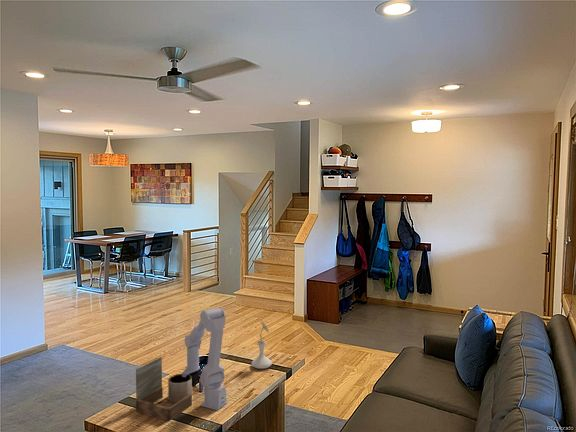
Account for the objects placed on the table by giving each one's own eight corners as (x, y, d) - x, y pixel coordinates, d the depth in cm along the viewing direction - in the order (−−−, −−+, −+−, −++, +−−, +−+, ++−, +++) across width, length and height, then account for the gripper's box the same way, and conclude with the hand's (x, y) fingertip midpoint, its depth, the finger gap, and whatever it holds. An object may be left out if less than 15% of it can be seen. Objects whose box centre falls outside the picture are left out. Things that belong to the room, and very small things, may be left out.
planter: (185, 405, 191) (185, 384, 191) (163, 402, 194) (163, 382, 193) (195, 394, 202) (195, 374, 202) (174, 391, 204) (174, 372, 204)
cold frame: (191, 405, 191) (191, 364, 190) (168, 421, 177) (168, 377, 177) (160, 396, 199) (160, 357, 198) (136, 411, 185) (135, 369, 184)
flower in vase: (271, 370, 229) (271, 325, 228) (250, 370, 230) (250, 325, 228) (272, 361, 242) (272, 318, 241) (252, 361, 243) (252, 318, 241)
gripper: (195, 352, 214) (195, 378, 215) (176, 362, 201) (176, 390, 202) (207, 354, 211) (207, 381, 212) (188, 365, 198) (188, 393, 198)
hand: (193, 385), depth 206 cm, fingers closed
